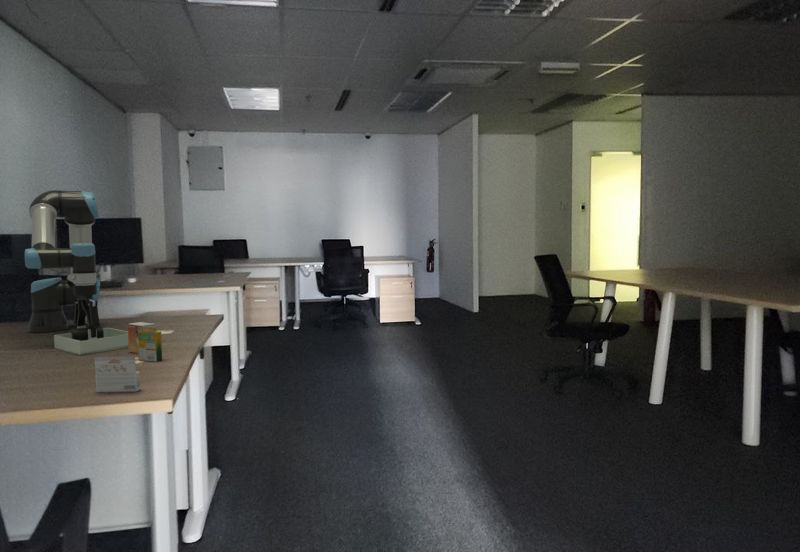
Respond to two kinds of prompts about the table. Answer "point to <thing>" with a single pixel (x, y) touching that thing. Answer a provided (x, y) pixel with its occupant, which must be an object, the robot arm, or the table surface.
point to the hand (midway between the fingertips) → (87, 344)
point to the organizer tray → (92, 342)
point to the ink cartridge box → (116, 374)
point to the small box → (136, 334)
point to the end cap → (85, 333)
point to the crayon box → (149, 344)
